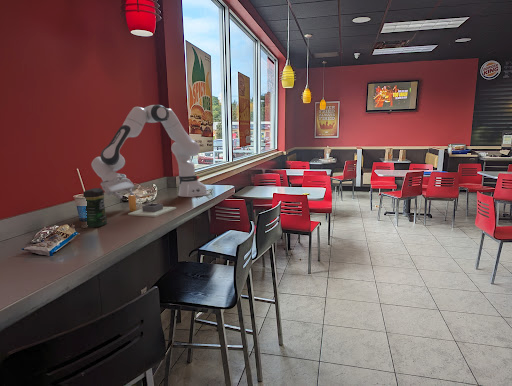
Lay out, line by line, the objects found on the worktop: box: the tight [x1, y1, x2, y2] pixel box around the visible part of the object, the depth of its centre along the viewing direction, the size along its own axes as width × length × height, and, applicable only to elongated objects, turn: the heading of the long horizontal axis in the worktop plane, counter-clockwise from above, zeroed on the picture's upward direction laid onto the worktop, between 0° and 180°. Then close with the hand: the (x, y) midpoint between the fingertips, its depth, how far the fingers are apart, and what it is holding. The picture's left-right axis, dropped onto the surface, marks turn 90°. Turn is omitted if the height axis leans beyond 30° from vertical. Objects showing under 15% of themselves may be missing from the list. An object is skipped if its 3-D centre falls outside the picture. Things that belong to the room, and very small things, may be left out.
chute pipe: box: [127, 194, 138, 212], centre depth 197 cm, size 4×4×9 cm
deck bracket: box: [127, 202, 177, 218], centre depth 192 cm, size 18×20×4 cm
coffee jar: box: [82, 187, 108, 229], centre depth 165 cm, size 10×8×19 cm
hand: (127, 196), depth 197 cm, fingers open, 8 cm apart
